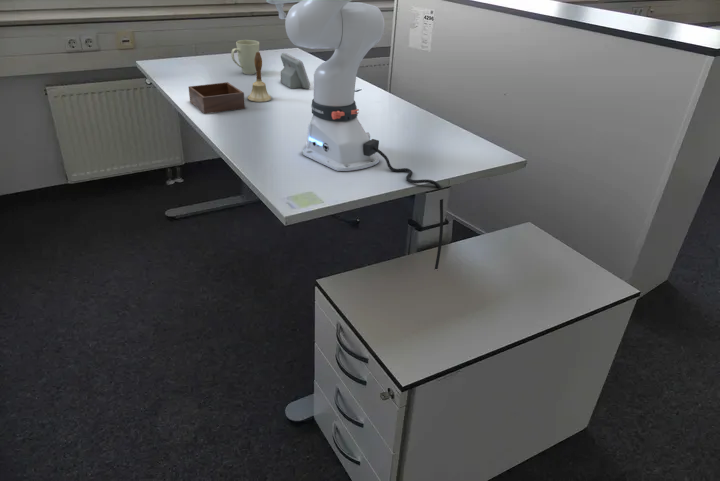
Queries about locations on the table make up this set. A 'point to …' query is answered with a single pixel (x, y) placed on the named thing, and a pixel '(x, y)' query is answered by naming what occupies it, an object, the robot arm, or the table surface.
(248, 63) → the mug
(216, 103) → the crate
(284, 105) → the table surface
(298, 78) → the digital clock
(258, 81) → the hand bell
